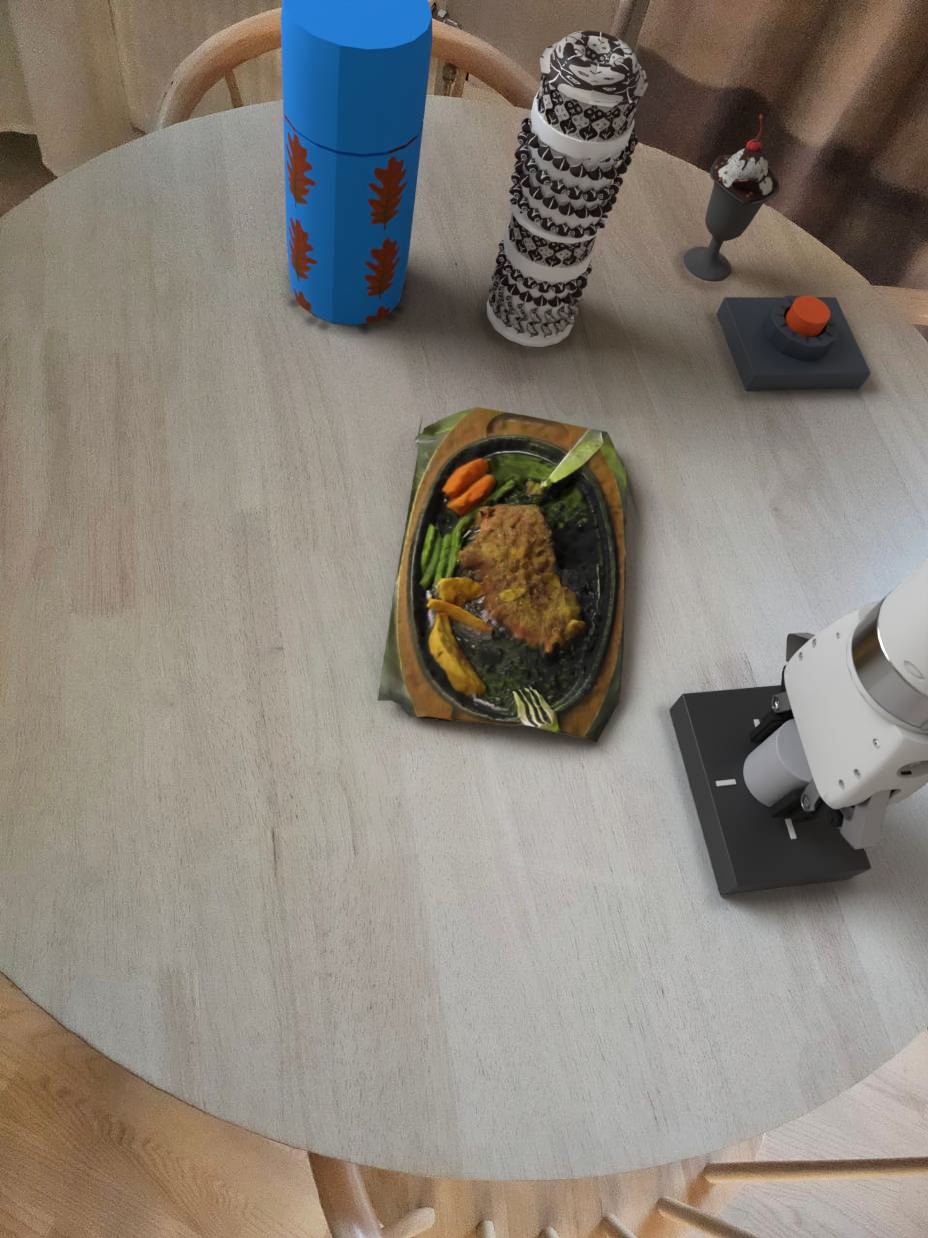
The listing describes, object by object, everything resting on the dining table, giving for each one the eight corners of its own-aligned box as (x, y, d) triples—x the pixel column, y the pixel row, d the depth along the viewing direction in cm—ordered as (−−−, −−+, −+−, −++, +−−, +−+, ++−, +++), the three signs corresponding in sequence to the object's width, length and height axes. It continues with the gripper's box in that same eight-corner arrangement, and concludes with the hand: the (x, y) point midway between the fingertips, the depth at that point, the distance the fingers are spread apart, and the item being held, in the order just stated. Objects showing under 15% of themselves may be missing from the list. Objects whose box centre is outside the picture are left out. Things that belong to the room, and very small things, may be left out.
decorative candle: (573, 359, 88) (659, 102, 66) (475, 337, 87) (530, 71, 66) (582, 292, 92) (666, 31, 71) (489, 271, 92) (545, 2, 70)
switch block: (825, 313, 96) (845, 282, 92) (859, 389, 91) (881, 359, 88) (715, 314, 94) (731, 282, 90) (745, 391, 89) (762, 360, 85)
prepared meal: (634, 729, 66) (379, 691, 64) (619, 749, 69) (375, 713, 67) (630, 431, 81) (422, 393, 79) (618, 458, 84) (417, 422, 82)
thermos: (332, 342, 84) (339, 66, 63) (264, 269, 88) (249, -18, 66) (427, 298, 89) (465, 25, 67) (359, 229, 92) (374, -52, 70)
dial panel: (668, 709, 72) (683, 692, 69) (789, 698, 74) (807, 681, 71) (719, 896, 65) (737, 886, 62) (850, 879, 67) (873, 868, 64)
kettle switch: (814, 309, 90) (823, 295, 89) (827, 337, 89) (836, 323, 87) (780, 309, 90) (788, 295, 88) (792, 337, 88) (800, 323, 87)
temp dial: (753, 812, 65) (790, 784, 60) (735, 749, 67) (769, 717, 62) (813, 806, 66) (855, 779, 61) (794, 744, 68) (833, 713, 63)
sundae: (704, 233, 99) (763, 96, 86) (750, 272, 97) (818, 138, 84) (661, 255, 97) (716, 117, 84) (708, 296, 95) (771, 161, 82)
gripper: (1054, 808, 47) (866, 892, 63) (933, 524, 55) (793, 662, 71) (918, 820, 46) (762, 903, 61) (815, 527, 54) (699, 667, 69)
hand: (780, 773), depth 66 cm, fingers closed on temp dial, 4 cm apart
